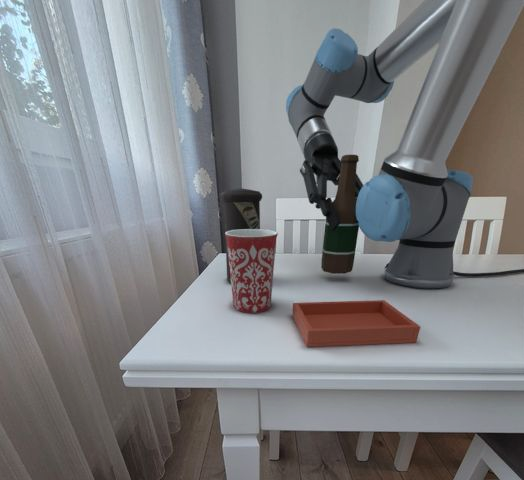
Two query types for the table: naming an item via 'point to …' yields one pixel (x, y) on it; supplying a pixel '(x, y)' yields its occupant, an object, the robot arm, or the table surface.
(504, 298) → the table surface
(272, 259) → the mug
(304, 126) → the robot arm
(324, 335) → the red tray
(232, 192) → the container
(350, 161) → the beer bottle
